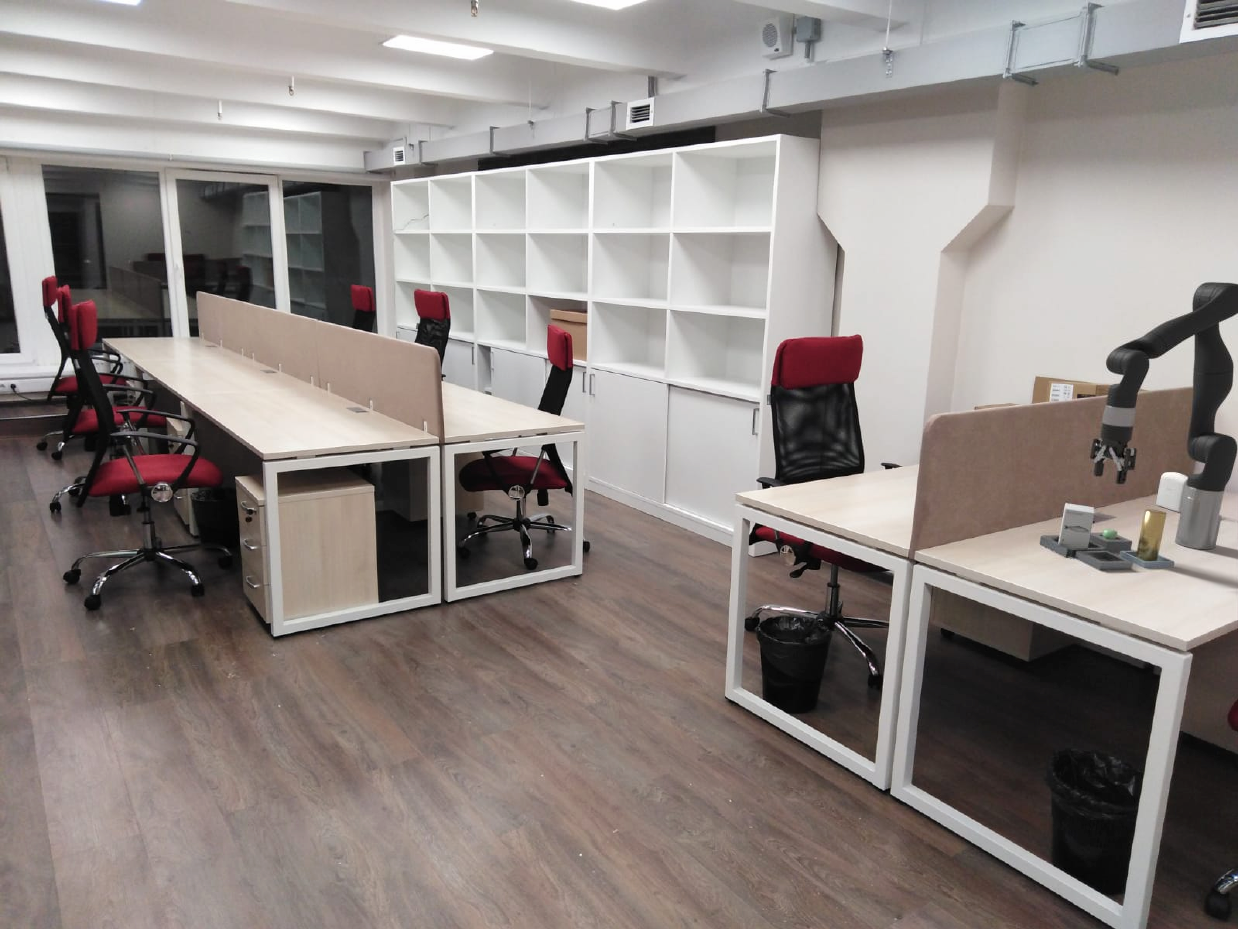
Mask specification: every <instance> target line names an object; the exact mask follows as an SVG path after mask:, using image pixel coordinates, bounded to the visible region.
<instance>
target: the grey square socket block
mask: <svg viewBox="0 0 1238 929" xmlns="http://www.w3.org/2000/svg"><path fill="white" fill-rule="evenodd" d="M1089 540H1090V541H1093V542H1095V543H1097V544H1099V545H1101V546H1103V547H1106V548H1107V551H1109V552H1111V553H1120V551H1132V545H1133V540H1131V539H1128V538H1125V537H1124V536H1121V535H1119V534H1117V538H1116V539H1106V538H1104V537H1103V532H1091V533H1090V539H1089Z"/></svg>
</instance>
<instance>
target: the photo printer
mask: <svg viewBox="0 0 1238 929" xmlns="http://www.w3.org/2000/svg"><path fill="white" fill-rule="evenodd" d="M1188 477H1189V476H1187V475H1185V474H1184V473H1183V474H1182V473H1179V472H1174V471H1171V472H1170V471H1169V472H1164V473H1163V474H1161V477H1160V481H1159V486H1158V492H1157V497H1156V501H1155V502H1156V503H1155V504H1156V506H1159V507H1162V508H1165V509H1168V510H1172V511H1174V512H1176V513H1181V508H1182V503H1183V498H1184V493H1185V488H1186V483H1187V479H1188Z"/></svg>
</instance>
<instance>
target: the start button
mask: <svg viewBox="0 0 1238 929" xmlns="http://www.w3.org/2000/svg"><path fill="white" fill-rule="evenodd" d="M1102 533H1103V537H1104V538H1106V539H1116V538H1117V535H1118V531H1117V530H1115V529H1109V528H1104V529H1103V532H1102Z"/></svg>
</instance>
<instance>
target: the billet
mask: <svg viewBox="0 0 1238 929" xmlns="http://www.w3.org/2000/svg"><path fill="white" fill-rule="evenodd" d="M1143 513H1144V514H1143V518H1142V523H1141V528H1140V533H1139V537H1138V544H1137V548H1136V551H1137V553H1136V558H1139V559H1141V560H1143V561H1157V559H1158V555H1160V549H1161V544H1162V539H1163V534H1164V528H1165V524H1166V519H1167V512H1165V511H1162V510H1159V509H1151V508H1146V509H1144V512H1143Z"/></svg>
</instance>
